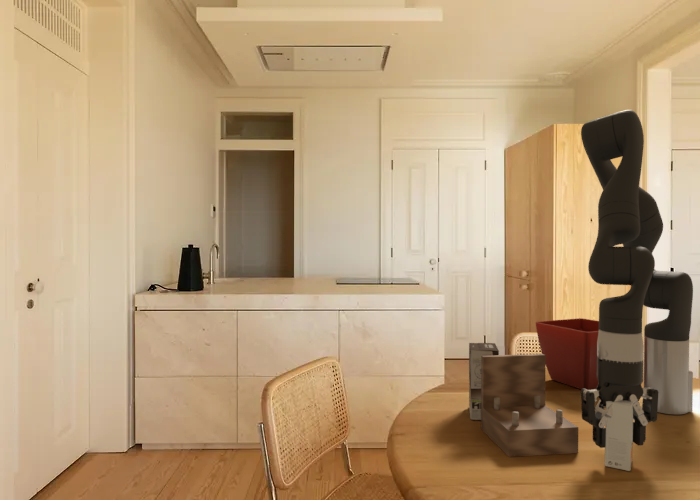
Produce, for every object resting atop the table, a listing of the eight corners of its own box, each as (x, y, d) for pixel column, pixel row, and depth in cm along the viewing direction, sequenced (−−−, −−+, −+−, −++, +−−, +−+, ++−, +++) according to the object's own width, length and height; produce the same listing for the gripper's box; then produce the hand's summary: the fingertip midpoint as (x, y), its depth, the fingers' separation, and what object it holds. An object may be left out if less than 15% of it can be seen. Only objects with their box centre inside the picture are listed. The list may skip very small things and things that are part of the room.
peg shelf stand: (542, 426, 112) (542, 353, 111) (578, 452, 98) (578, 370, 97) (481, 429, 110) (481, 355, 110) (508, 456, 96) (509, 372, 96)
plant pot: (580, 371, 157) (581, 317, 157) (637, 387, 140) (638, 327, 139) (533, 378, 149) (533, 321, 149) (587, 396, 132) (587, 332, 132)
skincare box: (631, 472, 90) (632, 405, 89) (604, 466, 92) (605, 401, 92) (633, 459, 95) (634, 395, 94) (607, 454, 97) (608, 392, 97)
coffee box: (499, 422, 114) (499, 350, 114) (469, 420, 116) (469, 349, 115) (495, 408, 123) (496, 342, 123) (468, 406, 124) (468, 341, 124)
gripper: (642, 349, 97) (641, 435, 98) (571, 351, 96) (570, 438, 96) (671, 359, 90) (669, 451, 90) (595, 361, 88) (594, 455, 89)
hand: (618, 444), depth 93 cm, fingers closed on skincare box, 7 cm apart
